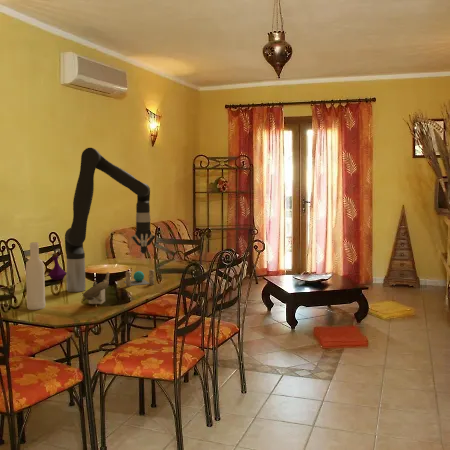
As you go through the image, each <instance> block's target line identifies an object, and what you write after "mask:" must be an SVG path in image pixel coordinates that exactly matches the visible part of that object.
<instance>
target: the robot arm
mask: <svg viewBox="0 0 450 450" xmlns="http://www.w3.org/2000/svg"><path fill="white" fill-rule="evenodd" d="M79 169H80V170H79V174H78V179H77V182H76V186H75V190H74V195H73V201H72V210H73V211H72V215H73V217H72V223H71V225H70V226H71V227H69V228H68V229H67V230H66V231H65V232H64V247H65V256H66V271H65V272H66V275H65V277H66V278H65V279H66V291H67V292H68V293H78V292H79V293H80V292H85V290H86V261H85V259H86V257H85V254H86V253H85V250H84V242H85V240H86V236H87V227H88V226H87V225H88V218H89V215H90V212H91V207H92V202H93V197H94V189H95V188H94V187H95V183H94V182H95V173H96V170H98V171H101V172H102V173H104V174H106V175H107V176H109V177H111V179H113V180H114V181H116V182H118V183H119V184H120V185H122V186H123V187H124V188H127V189H128V190H130V191H131V192H133V193H134V194H135V195H136V196H137V197H136V198H137V200H136V205H135V206H136V207H135V209H136V213H135V233H134V235H132V236H131V239H132V240H133V242H134V243H135V244H136V245H137V246H139V247H140V252H141V254H143V255H144V254H146V253H147V246H151V244H152V242H153V241H154V240H155V238H156V236H155V235H154V234H152V231H151V214H150V213H151V211H150V207H151V206H150V200H151V199H150V198H151V187H150V186H149V184H148V183H144V182H142V181H140V180H139V179H137V178H136V177H135V176H134V175H132V174H131V173H129V172H127V171H126V170H125V169H123V168H121V167H119V166H117V165H115V164H113V162H110V161H108V159H106V158H105V157H104V156H103V155H102V154H101V153H100V152H99V151H98V149H96V148H94V147H87V148H85V149H84V150H83V151H82V152H81V156H80V168H79ZM137 239H138V240H139V241H138V240H137Z"/></svg>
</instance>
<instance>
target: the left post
mask: <svg viewBox="0 0 450 450" xmlns="http://www.w3.org/2000/svg"><path fill="white" fill-rule="evenodd" d="M131 273H132V272H131V271H125V281H126V283H125V287H127V288H130V287H132V286H131V281H132V274H131Z"/></svg>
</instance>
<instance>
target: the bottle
mask: <svg viewBox="0 0 450 450" xmlns="http://www.w3.org/2000/svg"><path fill="white" fill-rule="evenodd" d="M29 250H30V258H29V259H28V260H27V261H26V264H25V282H26V306H27V307H26V308H27V309H28V310H32V311H35V310H36V311H37V310H42V309H45V308H46V289H45V288H46V287H45V286H46V285H45V284H46V282H45V281H46V280H45V264H44V262H43V260H42V259H41V258H40V251H39V250H40V245H39V242H30V243H29Z"/></svg>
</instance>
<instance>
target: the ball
mask: <svg viewBox="0 0 450 450" xmlns="http://www.w3.org/2000/svg"><path fill="white" fill-rule="evenodd" d="M133 279H134V281H135V280H136V281H138V282H140V281H142V280H145V274H144V272H143V271H141V270H138V271H136V272H134V273H133Z"/></svg>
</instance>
